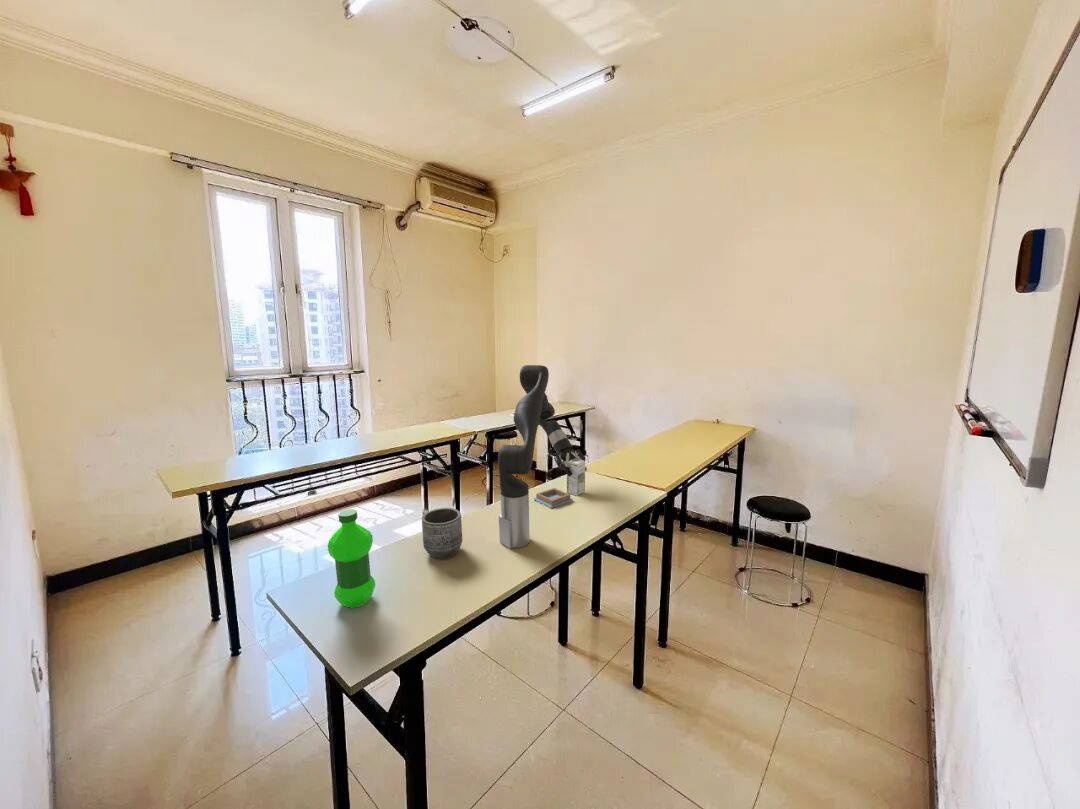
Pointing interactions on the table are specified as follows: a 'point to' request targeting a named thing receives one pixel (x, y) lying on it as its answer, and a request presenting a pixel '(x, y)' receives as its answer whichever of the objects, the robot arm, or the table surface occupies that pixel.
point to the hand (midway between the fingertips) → (578, 473)
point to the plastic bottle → (352, 561)
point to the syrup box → (576, 477)
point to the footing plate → (553, 497)
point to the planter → (442, 532)
